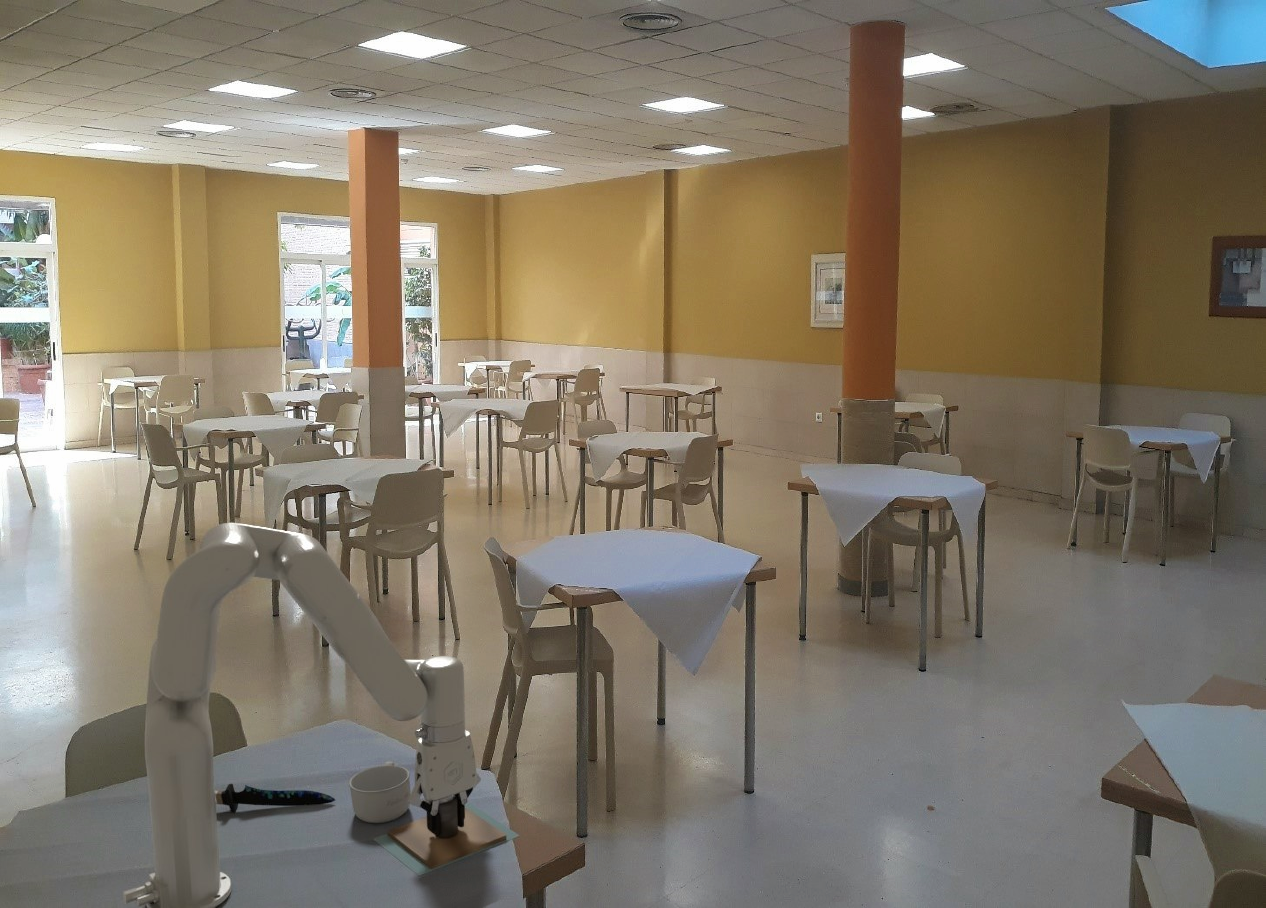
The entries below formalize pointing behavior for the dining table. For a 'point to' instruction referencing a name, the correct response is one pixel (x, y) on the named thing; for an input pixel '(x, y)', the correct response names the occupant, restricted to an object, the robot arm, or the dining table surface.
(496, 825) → the mat
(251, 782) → the dining table surface
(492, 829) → the lid
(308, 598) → the robot arm
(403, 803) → the teacup
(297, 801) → the knife
